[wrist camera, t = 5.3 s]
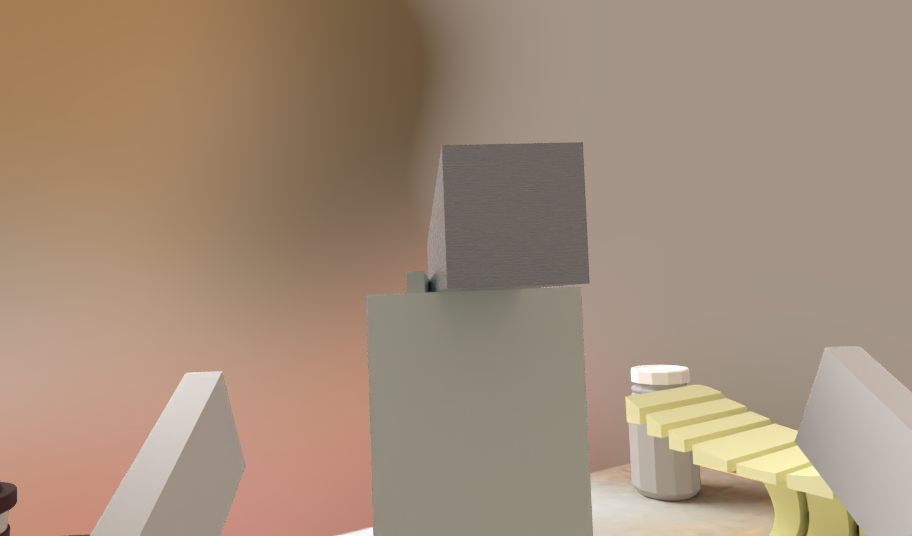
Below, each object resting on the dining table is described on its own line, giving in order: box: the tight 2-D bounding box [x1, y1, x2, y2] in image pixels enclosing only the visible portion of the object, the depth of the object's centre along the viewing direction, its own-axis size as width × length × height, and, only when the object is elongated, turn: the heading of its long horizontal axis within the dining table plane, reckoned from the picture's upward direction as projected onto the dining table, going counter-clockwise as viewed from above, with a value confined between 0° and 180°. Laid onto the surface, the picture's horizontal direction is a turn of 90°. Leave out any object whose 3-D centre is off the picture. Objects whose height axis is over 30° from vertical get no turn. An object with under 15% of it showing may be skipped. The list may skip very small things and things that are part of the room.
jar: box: [629, 365, 701, 501], centre depth 87 cm, size 10×10×18 cm
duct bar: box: [427, 142, 589, 292], centre depth 32 cm, size 30×4×4 cm, turn 4°
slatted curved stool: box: [626, 385, 866, 536], centre depth 58 cm, size 30×16×18 cm, turn 32°
